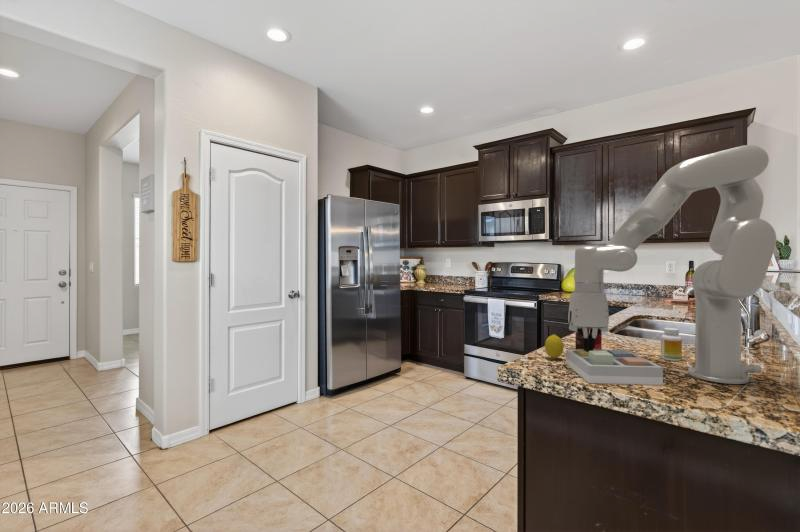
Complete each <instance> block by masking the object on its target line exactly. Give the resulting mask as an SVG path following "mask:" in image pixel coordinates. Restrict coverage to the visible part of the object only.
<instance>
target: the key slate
mask: <svg viewBox="0 0 800 532" xmlns="http://www.w3.org/2000/svg"><path fill="white" fill-rule="evenodd" d="M607 350H608V352H609V353H610V354H612V355H613V357H632V354H631V353H629V352H627V351H628V350H626V349H607Z"/></svg>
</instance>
